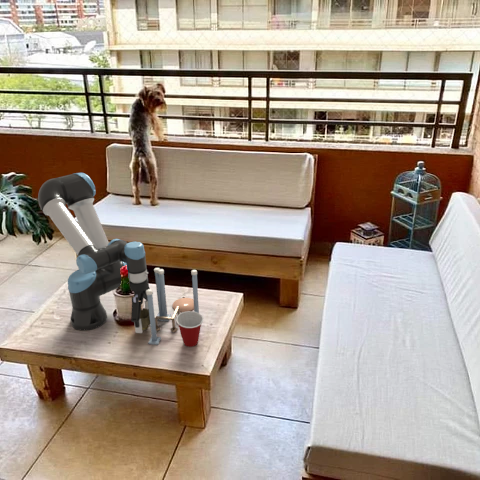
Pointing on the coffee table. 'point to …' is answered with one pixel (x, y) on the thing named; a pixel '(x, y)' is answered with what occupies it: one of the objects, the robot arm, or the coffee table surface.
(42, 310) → the coffee table surface
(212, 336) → the coffee table surface
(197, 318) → the plastic cup
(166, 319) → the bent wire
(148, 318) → the ornate lamp shade
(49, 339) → the coffee table surface
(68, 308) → the coffee table surface
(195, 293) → the gate
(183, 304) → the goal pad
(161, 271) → the gate
